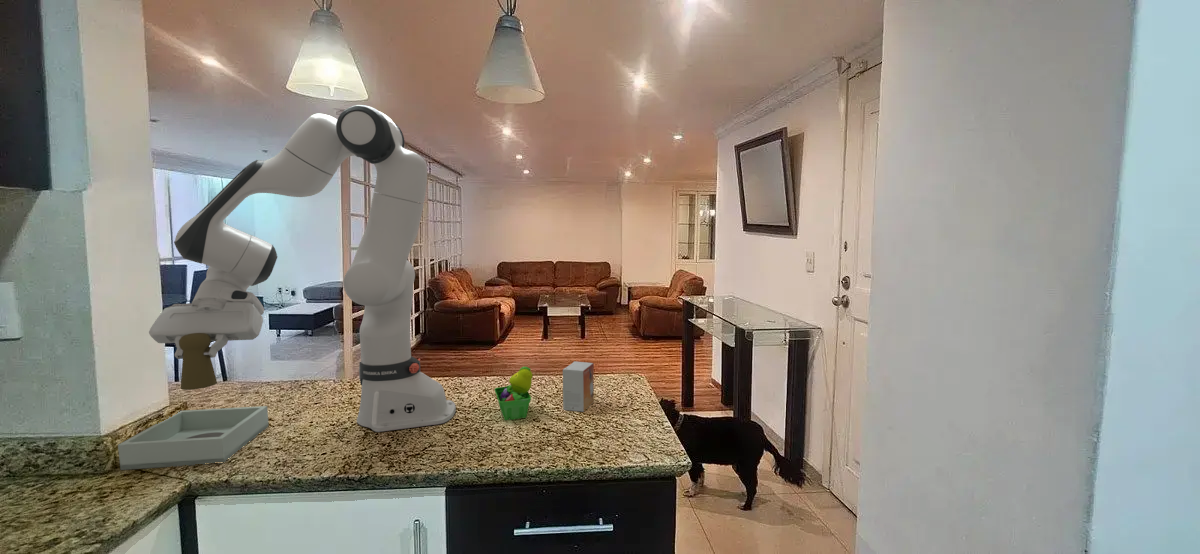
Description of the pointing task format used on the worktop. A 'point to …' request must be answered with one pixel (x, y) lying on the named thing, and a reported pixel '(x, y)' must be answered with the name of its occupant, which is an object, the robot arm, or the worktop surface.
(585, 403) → the small box
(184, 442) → the grey square tray
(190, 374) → the cork
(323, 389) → the worktop surface
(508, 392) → the fruit basket
